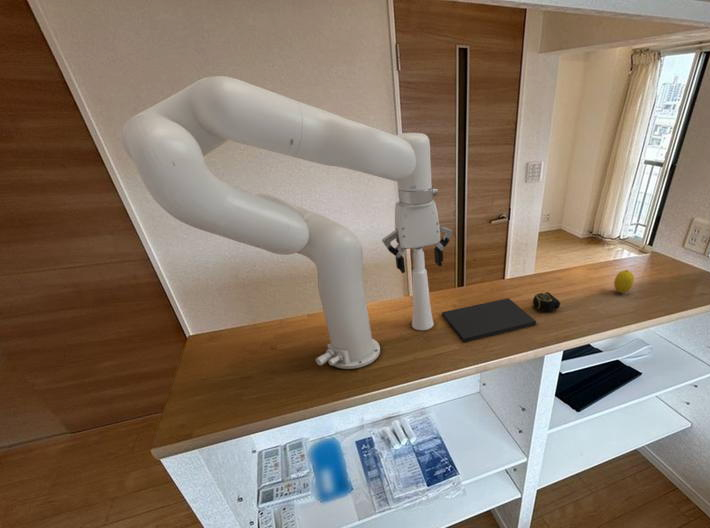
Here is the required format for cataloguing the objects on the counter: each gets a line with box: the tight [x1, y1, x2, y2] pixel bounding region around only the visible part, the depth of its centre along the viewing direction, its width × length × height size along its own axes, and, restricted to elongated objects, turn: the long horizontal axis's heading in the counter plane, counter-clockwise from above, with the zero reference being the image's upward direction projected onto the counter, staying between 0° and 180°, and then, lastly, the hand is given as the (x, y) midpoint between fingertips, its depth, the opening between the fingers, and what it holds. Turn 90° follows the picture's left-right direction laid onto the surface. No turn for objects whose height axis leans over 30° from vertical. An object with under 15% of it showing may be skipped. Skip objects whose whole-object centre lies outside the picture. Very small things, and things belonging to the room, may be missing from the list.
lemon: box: [613, 269, 635, 294], centre depth 117 cm, size 6×6×8 cm
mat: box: [441, 297, 537, 343], centre depth 104 cm, size 22×15×1 cm
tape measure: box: [532, 291, 561, 312], centre depth 110 cm, size 7×7×4 cm
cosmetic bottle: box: [411, 247, 435, 331], centre depth 96 cm, size 6×6×22 cm
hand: (420, 267), depth 93 cm, fingers open, 9 cm apart
